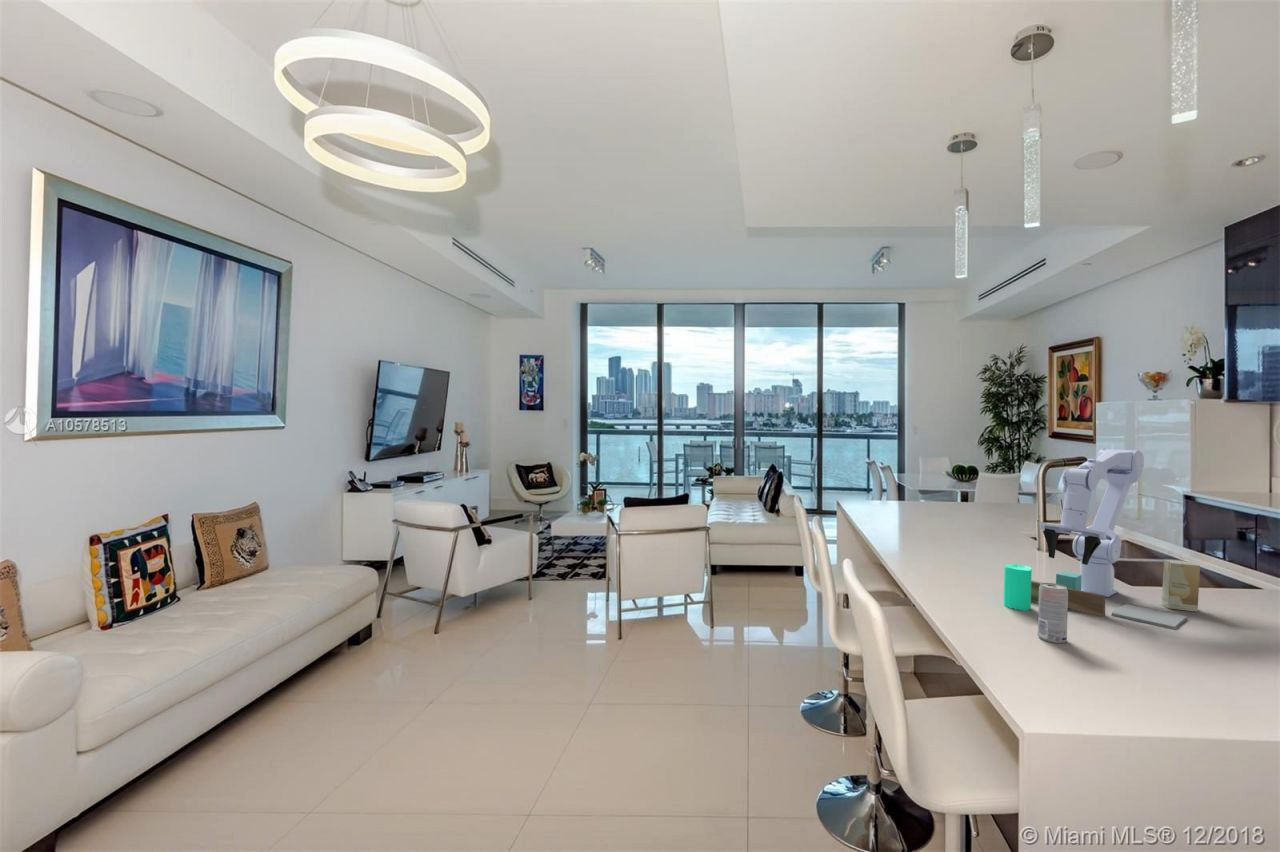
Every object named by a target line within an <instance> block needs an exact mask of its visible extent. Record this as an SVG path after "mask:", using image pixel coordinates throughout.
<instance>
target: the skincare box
mask: <svg viewBox="0 0 1280 852" xmlns="http://www.w3.org/2000/svg"><path fill="white" fill-rule="evenodd" d="M1162 571H1163V573H1162V574H1163V575H1162V587H1161V588H1162V589H1161V590H1162V591H1161V604H1162V605H1163V606H1164V607H1166V608H1168V609H1169V610H1171V609H1172V610H1179V611H1189V612H1194V611H1195V612H1196V613H1197V612H1198V610H1199V607H1198V606H1199V593H1200V590H1199V589H1200V574H1201V573H1200V572H1201V566H1200V565H1199V564H1197V563H1195V562H1193V561H1185V560H1176V559H1166V558H1165V559H1164V560H1163V570H1162Z"/></svg>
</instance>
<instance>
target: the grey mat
mask: <svg viewBox="0 0 1280 852" xmlns="http://www.w3.org/2000/svg"><path fill="white" fill-rule="evenodd" d="M1111 616H1113V617H1118V618H1122V619H1127V620H1131V621H1136V622H1140V623H1143V624H1148V625H1149V624H1150V625H1153V626H1159V627H1163V628H1167V629H1172V630H1176V629H1177V628H1178V627H1179V626H1180V625H1181V624H1182V623H1184V622H1185V621H1186V620H1187V616H1185V615H1181V614H1175V613H1170V612H1167V611H1162V610H1157V609H1151V608H1148V607H1147V608H1146V607H1141V606H1137V605H1132V604H1128V603H1127V604H1126V603H1125V604H1124V605H1121V606H1120V607H1119V608H1117V609H1115V610H1114V611H1112V612H1111Z"/></svg>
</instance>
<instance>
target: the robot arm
mask: <svg viewBox="0 0 1280 852" xmlns="http://www.w3.org/2000/svg"><path fill="white" fill-rule="evenodd" d="M1144 464H1145V458H1144V454H1143V452H1142V451H1141V450H1139V449H1135V450H1133V449H1130V450H1129V449H1110V448H1101V449H1099V450H1098V452H1097V456H1096V458H1088V459H1087V461H1085V462H1084V463H1082V464H1081V465H1079V466H1078V467H1077V466H1076V468H1074V467H1073V468H1072V467H1070V468H1069V469H1065V471H1064V473H1063V475H1062V484H1063V489H1062V493H1063V494H1064V498H1063V504H1062V510H1061V517H1060V522H1059V523H1060V524H1057V523H1049V522H1040V527H1039V530H1042V534H1043V537H1044V539H1045V541H1046V545H1047V550H1048V558H1050V559H1055V555H1056V550H1057V549H1056V546H1057V543H1058V539H1059V537H1060V534H1059V533H1061V534H1067V535H1074V536H1075V537H1074V539H1073V541H1072V552H1073V554H1074V555H1075V556H1076V557H1077V559H1078V560H1079V575H1082V578H1081V591H1086V592H1091V593H1096V594H1101V595H1106V598H1109V597H1111V596H1113V595H1115V594H1116V593H1118V592H1119V590H1118V589H1115V568H1114V566H1113V564H1115V563H1116V562H1118V561H1119V559H1120V557H1121V554H1122V553H1121V551H1122V550H1121V549H1122V545H1123V542H1122V539H1121V538H1120V537H1121V536H1119V535H1118V534H1117V533H1116V532H1115V531H1114V530H1115V528H1116V524H1118V520H1119V517H1120V514H1121V512H1122V509H1123V506H1124V504H1125V502H1126V500H1127V499H1126V498H1127V496H1128V494H1129V490H1130V487H1131V485H1132V484H1135V483H1138V481H1139V479H1140V478H1141V475H1142V472H1143V470H1144V466H1145V465H1144ZM1100 480H1104V481H1105V482H1107V486H1106V489H1105V491H1104V495H1103V497H1102V500H1101V502H1100V505H1099V507H1098V509H1097V512H1096V514H1095V517H1094V520H1093V523H1092V525H1088V524H1087V523H1088V519H1089V517H1088V516H1089V512H1090V505H1091V498H1092V492H1093V491H1095V490H1096V489H1097V487H1098V484H1099V483H1100ZM1087 525H1088V526H1087Z"/></svg>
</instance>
